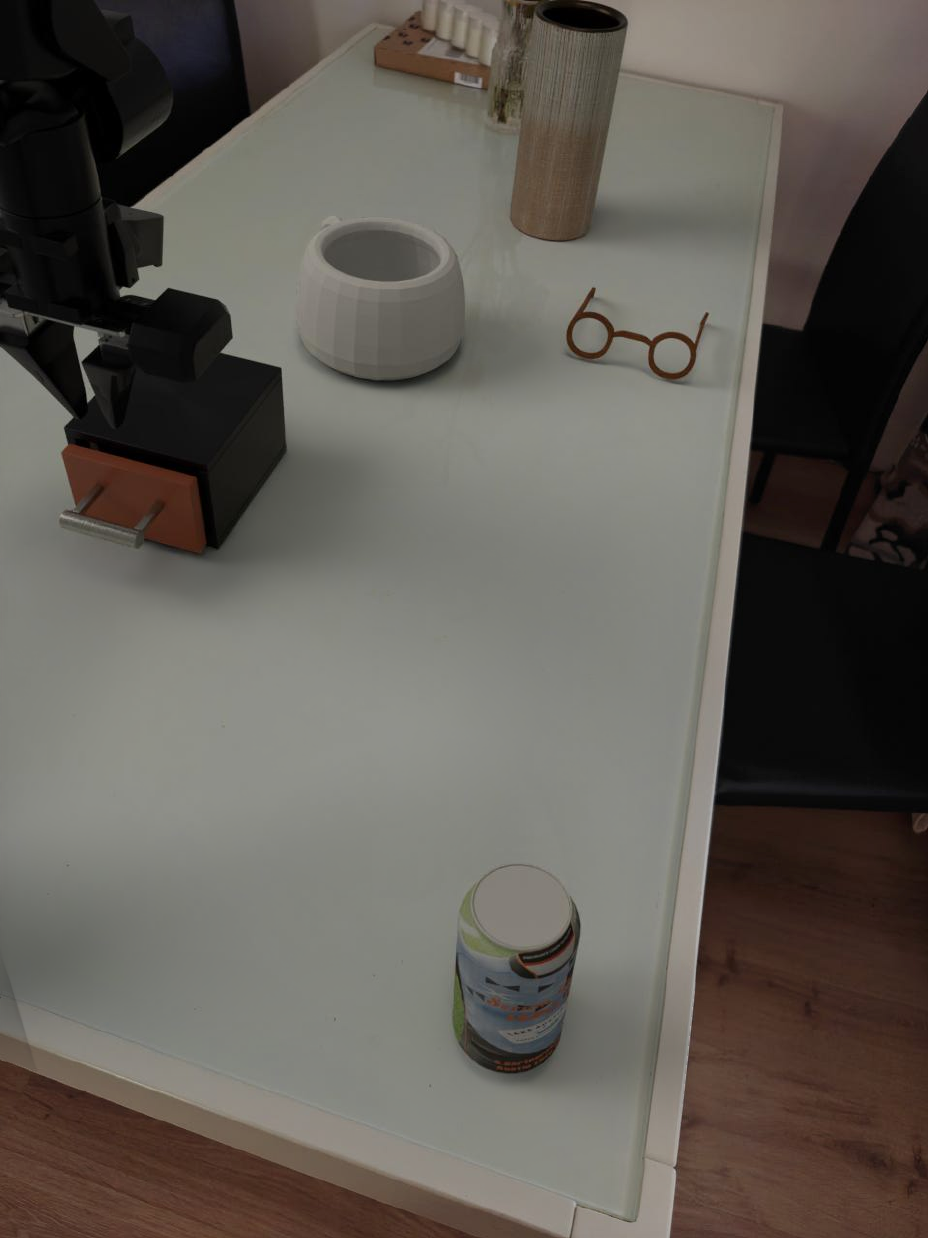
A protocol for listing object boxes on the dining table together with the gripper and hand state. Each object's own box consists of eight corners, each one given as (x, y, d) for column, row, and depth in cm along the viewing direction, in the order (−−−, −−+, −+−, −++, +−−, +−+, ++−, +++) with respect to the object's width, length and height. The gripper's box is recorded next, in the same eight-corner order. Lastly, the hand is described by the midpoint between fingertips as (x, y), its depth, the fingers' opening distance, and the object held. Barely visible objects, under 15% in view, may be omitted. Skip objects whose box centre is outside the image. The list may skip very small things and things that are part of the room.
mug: (493, 366, 99) (504, 273, 92) (342, 407, 93) (341, 311, 85) (392, 266, 111) (395, 176, 104) (252, 296, 104) (244, 203, 97)
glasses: (561, 355, 102) (569, 311, 98) (590, 295, 110) (598, 253, 106) (687, 387, 100) (700, 343, 96) (706, 323, 108) (719, 281, 104)
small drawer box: (218, 550, 79) (206, 464, 72) (85, 513, 80) (63, 427, 74) (287, 450, 88) (281, 367, 81) (166, 419, 89) (152, 335, 83)
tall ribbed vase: (585, 206, 125) (621, 2, 108) (595, 244, 118) (635, 33, 102) (507, 200, 124) (531, -6, 108) (511, 238, 118) (538, 25, 101)
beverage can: (481, 1103, 52) (507, 1017, 44) (422, 979, 57) (435, 878, 48) (582, 1051, 55) (626, 960, 46) (518, 935, 59) (547, 831, 50)
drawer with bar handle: (171, 595, 74) (157, 527, 69) (45, 559, 75) (23, 490, 70) (266, 459, 85) (261, 393, 80) (156, 430, 87) (144, 363, 82)
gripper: (260, 172, 60) (275, 388, 72) (-14, 112, 63) (43, 330, 74) (173, 254, 53) (205, 481, 64) (-133, 183, 55) (-50, 413, 67)
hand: (99, 420), depth 68 cm, fingers closed
